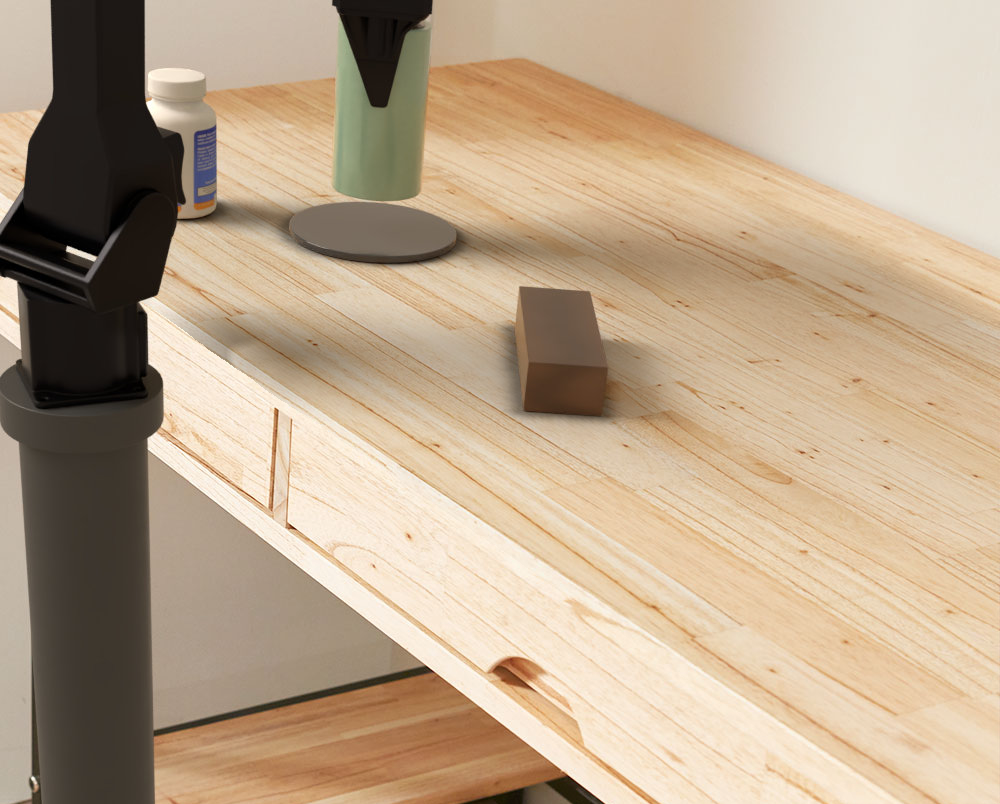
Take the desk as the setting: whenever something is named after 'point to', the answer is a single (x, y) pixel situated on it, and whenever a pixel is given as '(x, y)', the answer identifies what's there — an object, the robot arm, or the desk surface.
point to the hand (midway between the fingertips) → (380, 95)
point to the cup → (381, 124)
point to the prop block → (559, 352)
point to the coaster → (372, 232)
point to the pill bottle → (188, 133)
